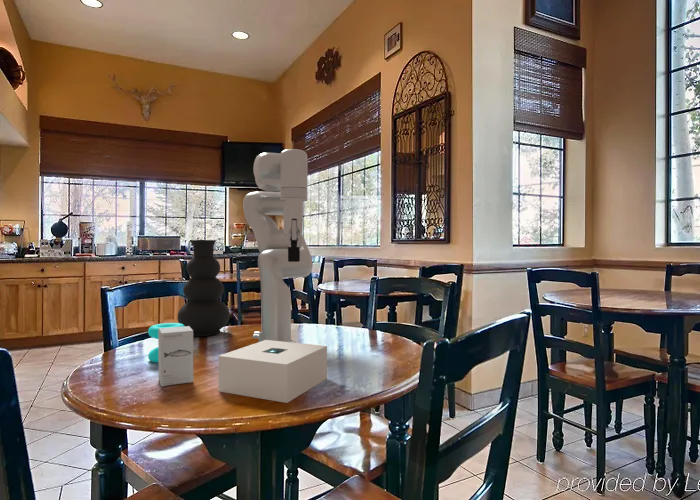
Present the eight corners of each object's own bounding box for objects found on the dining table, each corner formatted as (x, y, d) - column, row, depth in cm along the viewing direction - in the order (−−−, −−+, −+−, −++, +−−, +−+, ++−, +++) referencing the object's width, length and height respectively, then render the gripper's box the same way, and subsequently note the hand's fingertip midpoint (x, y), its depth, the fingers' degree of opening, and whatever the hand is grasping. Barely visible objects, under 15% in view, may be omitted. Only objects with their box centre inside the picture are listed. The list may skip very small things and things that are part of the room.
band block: (218, 391, 97) (218, 355, 97) (266, 370, 114) (265, 339, 114) (287, 402, 90) (286, 364, 90) (327, 378, 106) (326, 346, 106)
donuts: (191, 324, 126) (157, 329, 118) (192, 359, 126) (157, 366, 118) (175, 320, 132) (142, 325, 125) (176, 353, 133) (142, 359, 125)
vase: (192, 329, 171) (191, 240, 171) (237, 329, 169) (236, 240, 169) (167, 339, 153) (166, 240, 153) (218, 340, 151) (217, 239, 151)
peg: (263, 384, 101) (262, 351, 101) (273, 379, 104) (272, 348, 104) (277, 386, 99) (277, 353, 99) (287, 381, 103) (287, 349, 103)
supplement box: (160, 387, 100) (160, 333, 100) (158, 379, 107) (157, 327, 107) (194, 382, 104) (193, 330, 104) (190, 374, 110) (189, 325, 110)
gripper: (280, 197, 127) (280, 260, 127) (279, 192, 112) (279, 263, 113) (306, 197, 128) (306, 259, 129) (308, 193, 113) (308, 263, 114)
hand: (293, 261), depth 121 cm, fingers closed
